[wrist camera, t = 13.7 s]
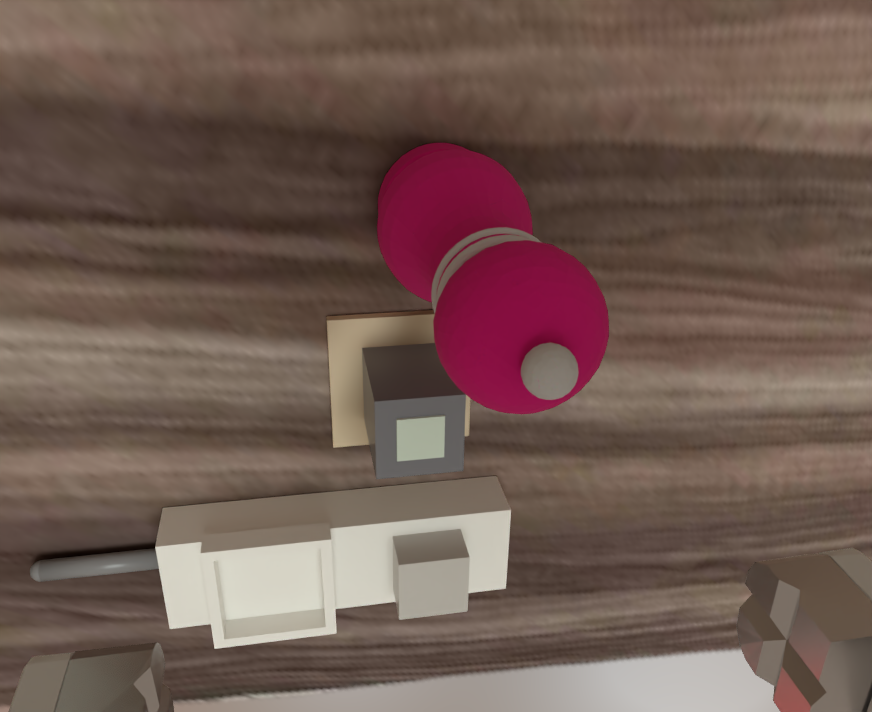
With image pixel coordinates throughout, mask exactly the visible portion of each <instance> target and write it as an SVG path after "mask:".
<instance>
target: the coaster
mask: <svg viewBox="0 0 872 712" xmlns="http://www.w3.org/2000/svg"><path fill="white" fill-rule="evenodd" d="M434 316H435V313H434V310H423V311H406V312H389V313H372V314H356V315H339V316H326V320H327V339H328V359H329V378H330V397H331V417H332V436H333V448H334V447H346V446H357V445H369V440H368V435H367V430H366V425H365V420H364V397H363V364H362V348H367V347H382V346H397V345H412V344H427V343H435V341H434V327H433V320H434ZM469 420H470V398H469V397H468V396H467V395H466V408H465V436H469Z"/></svg>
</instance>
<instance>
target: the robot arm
mask: <svg viewBox="0 0 872 712" xmlns="http://www.w3.org/2000/svg"><path fill="white" fill-rule="evenodd" d="M745 584H746V586H747V587H748V589H749V590H750V591H751V593H752V595H751V596H750V597H749V598H748V599H747V600H746V602H745V603H744V604H743V605H742V606H741V607H740V609H739V615H738V621H737V631H738V638H739V644H740V647H741V649H742V652H743V654H744V657H745V659H746V661H747V662H748V664H749V665H750V667H751V668H752V670H753V672H754V673H755V675H757V676H759V677H760V678H762V679H764V680H765V681H767V682H769V683H770V684H772V685H774V697H773V701H774V703H775V704H776V706H777V707H778V709H779V710H780V711H781V712H872V562H871V561H870V560H869V559H868V558H867V557H866V556H865V555H864V554H863V553H862V552H860V551H858V550H856V549H853V548H848V549H841V550H834V551H827V552H821V553H818V554H807V555H801V556H794V557H787V558H780V559H773V560H766V561H759V562H755V563H754V564H753V565H752V566H751V568H750V569H749V570H748V574H747V578H746V582H745ZM164 669H165V661H164V657H163V652H162V648H161V645H160V644H159V643H157V642H156V643H147V644H138V645H128V646H119V647H110V648H101V649H92V650H83V651H75V652H74V653H64V654H54V655H45V656H35V657H32V658H31V659H30V661H29V662H28V663H27V665H26V666H25V667H24V669H23V672H22V675H21V677H20V680H19V683H18V686H17V689H16V692H15V695H14V698H13V700H12V703H11V706H10V709H9V712H174V706H173V700H172V694H171V689H170V688H168V687H167V686H165V685H164V684H163V677H164Z"/></svg>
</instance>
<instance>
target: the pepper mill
mask: <svg viewBox="0 0 872 712" xmlns="http://www.w3.org/2000/svg"><path fill="white" fill-rule="evenodd" d="M378 213H379V214H378V223H377V234H378V242H379V246H380V250H381V253H382V255H383V258H384V260H385V262H386V264H387V266H388V267H389V269H390V270H391V272H392V273H393V274H394V276H395V277H396V278H397V280H398V281H399V282H400V283H401V284H402V285H403V286H404V287H405V288H406V289H407V290H409V291H410V292H412V293H413V294H415V295H417V296H418V297H420V298H422V299H425V300H427V301H429V302H431V303H432V307H433V310H434V313H435V316H434V320H433V327H434V341H435V345H436V350H437V353H438V356H439V359H440V362H441V364H442V366H443V367H444V369H445V371H446V372H447V374H448V376H449V377H450V378H451V380H452V381H453V382H454V383H455V385H456V386H457V387H458V388H459V389H460V390H461V391H462V392H463V393H465V394H466V395H467V396H468V397H469V398H471V399H473V400H474V401H476V402H478V403H479V404H481V405H483V406H485V407H487V408H490V409H493V410H496V411H499V412H504V413H513V414H531V413H536V412H540V411H544V410H547V409H550V408H553V407H555V406H557V405H559V404H561V403H563V402H565V401H567V400H568V399H570V398H571V397H572V396H574V395H575V394H576V393H578V392H579V391H580V390H581V389H582V388H583V387H584V386H585V385H586V384H587V383H588V382H589V380H590V379H591V378H592V376H593V375H594V373H595V372H596V371H597V369H598V368H599V366H600V363H601V361H602V358H603V356H604V353H605V350H606V346H607V342H608V337H609V320H608V310H607V306H606V303H605V299H604V296H603V294H602V292H601V290H600V288H599V286H598V284H597V282H596V280H595V279H594V278H593V276H592V275H591V274H590V272H589V271H588V270H587V268H586V267H585V266H584V265H583V264H582V263H580V262H579V261H578V260H577V259H576V258H574V257H573V256H572V255H570V254H568V253H566V252H564V251H563V250H561V249H559V248H557V247H555V246H554V245H551V244H546V243H542V242H540V241H539V240H538V239H537V238H536V237H534V236H532V235H533V231H532V218H531V213H530V209H529V205H528V202H527V199H526V197H525V196H524V194H523V192H522V190H521V188H520V186H519V185H518V183H517V182H516V181H515V179H514V178H513V176H512V175H511V174H510V173H509V172H508V171H507V170H506V169H505V168H504V167H503V166H502V165H501V164H499V163H498V162H496V161H495V160H493V159H491V158H489V157H487V156H485V155H483V154H480V153H477V152H473V151H469V150H467V149H465V148H463V147H461V146H458V145H455V144H449V143H430V144H426V145H422V146H419V147H417V148H415V149H413V150H410V151H409V152H407V153H406V154H404V155H403V156H401V157H400V158H399V159H398V160H397V161H396V162H395V163H394V164H393V165H392V167H391V168H390V170H389V171H388V172H387V174H386V176H385V178H384V180H383V182H382V185H381V187H380V192H379V196H378Z"/></svg>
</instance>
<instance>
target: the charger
mask: <svg viewBox="0 0 872 712" xmlns="http://www.w3.org/2000/svg"><path fill="white" fill-rule="evenodd" d="M362 364H363V397H364V420H365V425H366V430H367V435H368V440H369V445H370V450H371V455H372V460H373V465H374V470H375V475H376V479H383V478H394V477H404V476H415V475H426V474H436V473H447V472H457V471H463V466H464V437H465V408H466V394H465V393H463V392H462V391H461V390H460V389H459V388H458V387H457V386H456V385H455V383H454V382H453V381H452V380H451V378H450V377H449V376H448V374H447V372H446V371H445V369H444V367H443V366H442V364H441V362H440V359H439V356H438V353H437V350H436V345H435V343H427V344H412V345H397V346H382V347H367V348H362Z"/></svg>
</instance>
